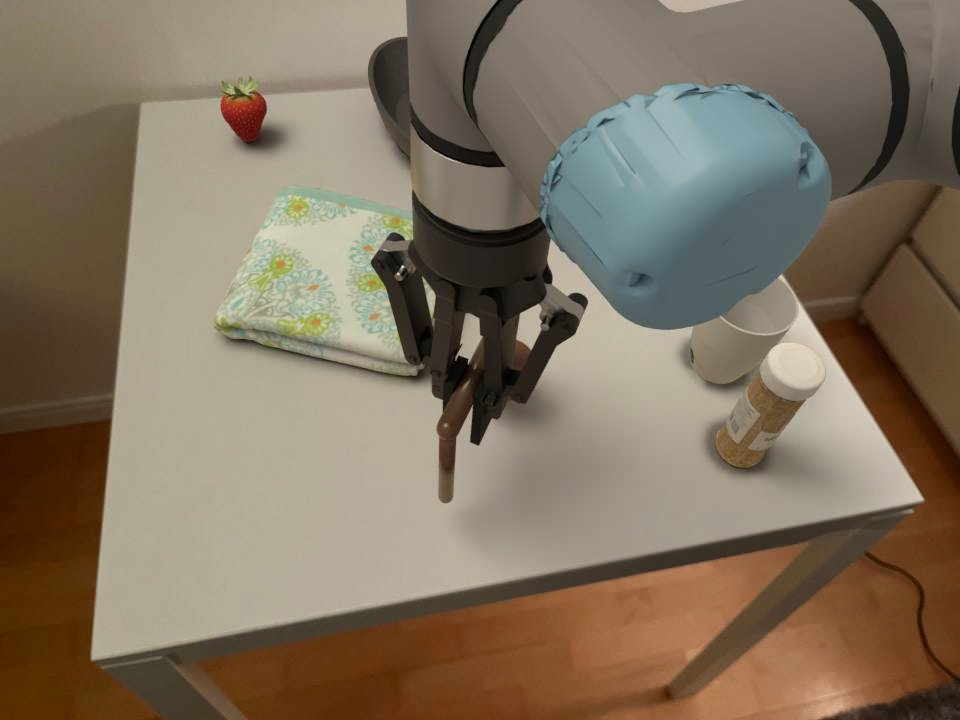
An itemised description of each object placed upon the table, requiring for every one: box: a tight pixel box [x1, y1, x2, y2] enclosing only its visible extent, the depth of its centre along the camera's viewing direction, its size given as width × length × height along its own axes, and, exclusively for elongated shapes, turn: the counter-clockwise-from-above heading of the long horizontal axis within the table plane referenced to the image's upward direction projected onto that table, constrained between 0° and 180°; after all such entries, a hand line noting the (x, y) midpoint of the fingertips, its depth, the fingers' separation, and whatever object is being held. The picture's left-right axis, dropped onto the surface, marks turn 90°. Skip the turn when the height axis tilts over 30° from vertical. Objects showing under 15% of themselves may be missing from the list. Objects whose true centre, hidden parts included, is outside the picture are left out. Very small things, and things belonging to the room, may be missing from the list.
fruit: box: [217, 75, 268, 143], centre depth 85 cm, size 5×5×8 cm
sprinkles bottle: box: [714, 341, 827, 469], centre depth 62 cm, size 5×5×14 cm
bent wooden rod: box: [435, 313, 532, 504], centre depth 58 cm, size 16×5×12 cm, turn 158°
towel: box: [212, 184, 436, 377], centre depth 73 cm, size 18×21×5 cm
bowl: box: [367, 36, 411, 159], centre depth 88 cm, size 12×22×6 cm, turn 19°
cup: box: [689, 276, 800, 385], centre depth 69 cm, size 8×8×10 cm
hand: (467, 424), depth 57 cm, fingers closed on bent wooden rod, 2 cm apart
